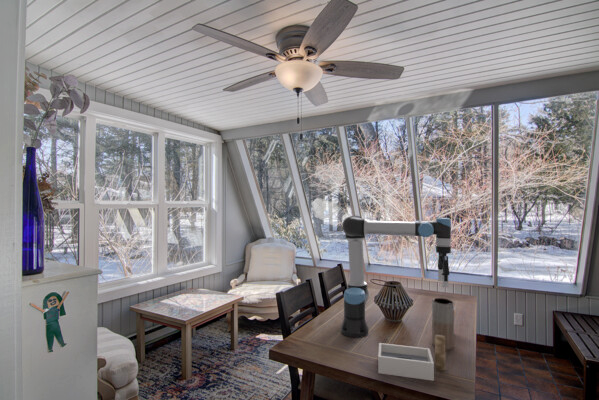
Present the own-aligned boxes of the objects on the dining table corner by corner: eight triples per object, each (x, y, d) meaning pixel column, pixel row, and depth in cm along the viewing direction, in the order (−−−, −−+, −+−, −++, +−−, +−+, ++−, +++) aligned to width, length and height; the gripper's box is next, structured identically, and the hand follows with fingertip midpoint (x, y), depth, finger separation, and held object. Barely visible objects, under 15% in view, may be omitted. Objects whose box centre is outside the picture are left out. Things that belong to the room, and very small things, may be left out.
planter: (432, 348, 160) (432, 302, 160) (432, 340, 170) (431, 297, 170) (454, 351, 157) (454, 304, 157) (452, 343, 166) (452, 299, 166)
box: (378, 373, 137) (378, 356, 137) (379, 357, 150) (379, 342, 150) (433, 380, 131) (433, 363, 131) (429, 364, 144) (429, 348, 144)
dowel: (435, 370, 139) (435, 337, 139) (434, 365, 143) (434, 334, 143) (445, 371, 138) (445, 339, 138) (444, 367, 142) (444, 335, 142)
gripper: (455, 249, 165) (455, 290, 165) (446, 243, 189) (445, 279, 189) (440, 248, 167) (439, 289, 167) (432, 242, 191) (432, 278, 191)
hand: (443, 284), depth 178 cm, fingers open, 13 cm apart
